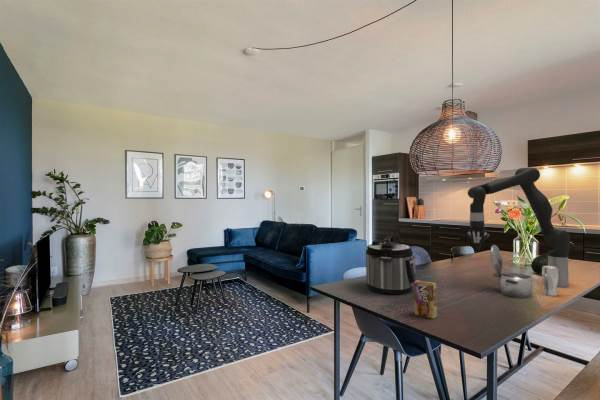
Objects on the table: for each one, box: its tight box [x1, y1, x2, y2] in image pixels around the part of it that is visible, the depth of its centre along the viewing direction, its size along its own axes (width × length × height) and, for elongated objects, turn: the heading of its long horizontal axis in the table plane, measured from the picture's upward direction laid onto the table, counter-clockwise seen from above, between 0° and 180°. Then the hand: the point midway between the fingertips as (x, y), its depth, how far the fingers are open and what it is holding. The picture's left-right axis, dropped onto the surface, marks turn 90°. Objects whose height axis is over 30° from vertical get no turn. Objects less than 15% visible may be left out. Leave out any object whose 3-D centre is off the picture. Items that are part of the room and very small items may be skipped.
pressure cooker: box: [365, 235, 417, 295], centre depth 183 cm, size 30×28×32 cm
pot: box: [493, 271, 533, 299], centre depth 170 cm, size 19×17×10 cm
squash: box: [530, 253, 548, 276], centre depth 209 cm, size 14×15×15 cm
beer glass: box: [541, 266, 559, 297], centre depth 167 cm, size 7×7×15 cm
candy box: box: [413, 279, 438, 319], centre depth 140 cm, size 9×4×15 cm, turn 47°
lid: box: [489, 244, 503, 274], centre depth 176 cm, size 15×16×2 cm
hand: (477, 249), depth 183 cm, fingers closed
